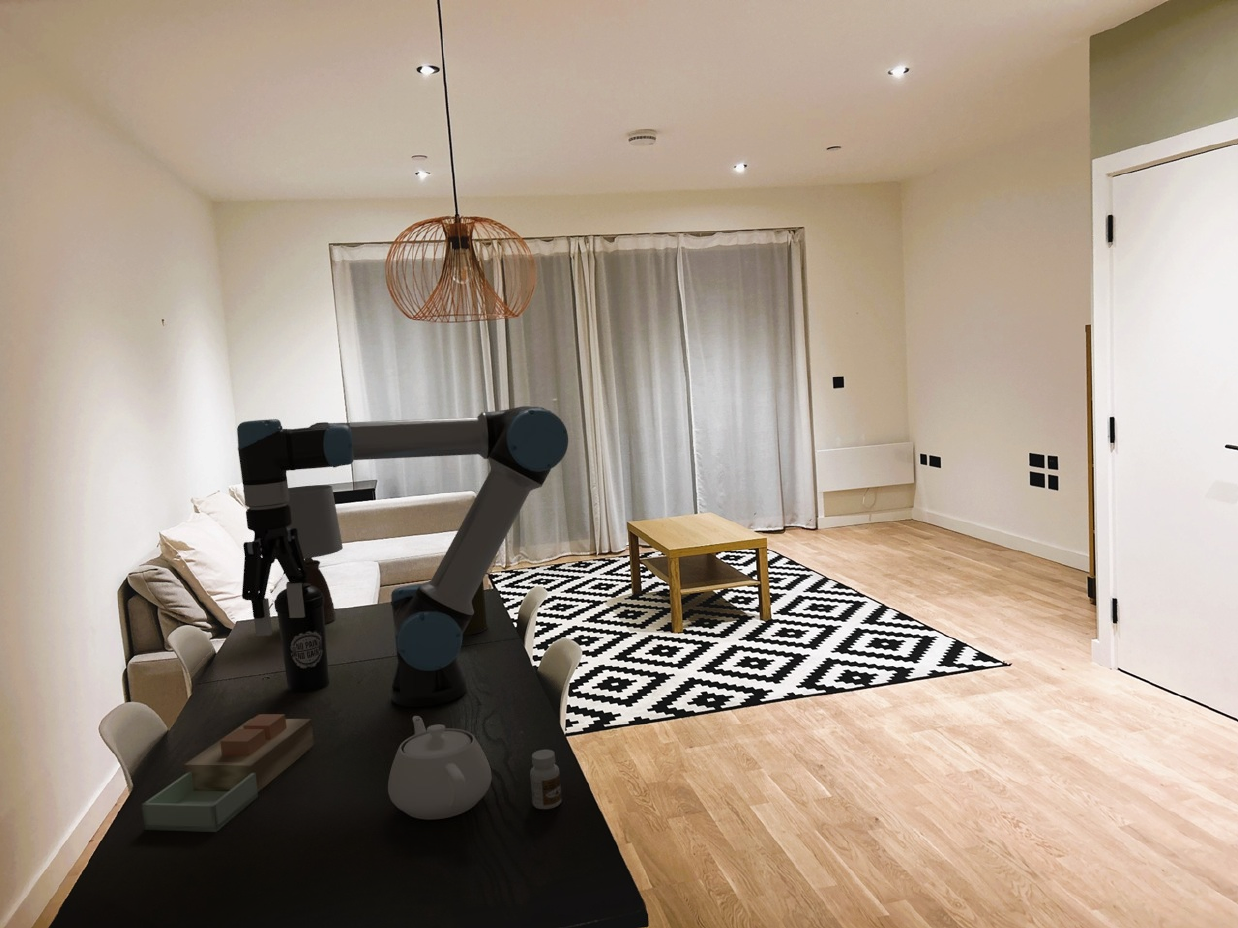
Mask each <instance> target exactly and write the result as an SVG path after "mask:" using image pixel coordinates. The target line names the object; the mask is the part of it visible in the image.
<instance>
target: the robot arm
mask: <svg viewBox="0 0 1238 928" xmlns="http://www.w3.org/2000/svg"><path fill="white" fill-rule="evenodd" d="M236 429H237V430H236V434H237V451H238V459H239V466H240V475H241V481H242V486H243V488H242V489H243V496H244V505H245V506H246V507H247V510H246V511H245V518H246V526H247V528H248V530H250V531H253V533H254V535H253V537H254V538H253V541H245V542H244V543H243V544H242V545H243V547H242V548H243V553H244V554H243V555H244V558H243V559H244V563H243V576H242V577H243V578H242V589H241V590H242V592H241V598H242V600H244V601H251V608H252V616H253V620H254V630H255V636H256V637H257V636H258V637H259V636H260V637H261V636H262V637H264V636H266V637H269V636H271V635H273V628H272V619H271V611H270V609H271V608H270V604H269V603H270V602H269V598H266V594H267V593H266V592H267V587H268V583H269V579H270V578H269V577H270V574H271V569H272V564H274V563H275V561H276V560H277V562H278V563H279V566H280V567H281V569H282V571H283V572H284V574H285V577H286V579H287V582H291V583H287V582H286V584H285V587H286V588H287V597H288V606H289V615H290V618H303V617H305V612H304V603H303V593H302V584H301V582H305V581H307V575H308V571H307V567H306V564H305V561H304V557H303V554H302V551H301V547H300V544H299V541H298V532H297V529H296V528H286V527H287V526H289V525H291V523H292V518H291V510H290V506H289V505H287V502H289V501H290V498H289V491H288V488H289V484H288V478H287V471H288V472H289V471H296V470H297V471H298V470H309V469H321V468H322V469H323V468H337V467H343V466H348V465H351V464H353V463H354V461H362V460H363V461H364V460H383V459H384V460H385V459H408V458H409V459H411V458H426V457H427V458H428V457H430V458H431V457H448V456H450V457H451V456H452V457H454V456H471V455H472V456H473V455H479V456H480V457H481V458H482V459H484V460H488V463H489V466H490V471H489V472H488V475H487V476H486V478H485V480H484V482H483V483H482V486H481V487H480V489H479V491H478V493H477V495H476V497H475V499H474V501H473V502H472V504H471V506H470V508H469V509H468V512H467V513H466V515H465V517H464V519H463V521H462V522H461V524H460V526H459V528H458V530H457V531H456V534H455V536H454V538H453V539H452V541H451V543H450V545H449V546H448V548H447V550H446V552H445V554H444V556H443V558H442V559H441V561H440V563H439V565H438V567H437V569H436V571H435V573H434V574H433V577H432V578H431V580H429V581H427V582H424V583H418V584H417V583H415V584H409V585H403V586H399V587H396V588H394V589H393V590H392V592H391V600H390V605H391V611H392V619H393V620H392V621H393V628H394V629H393V630H394V640H395V641H394V642H395V650H396V657H397V658H396V660H397V662H396V668H395V671H394V675H393V680H392V683H391V684H392V686H391V698H392V699H391V700H392V702H393V703H394V704H396V705H398V706H402V707H408V708H423V707H424V708H426V707H432V706H437V705H442V704H445V703H449V702H451V701H454V700H457V699H458V698H460V697H462V696H463V695H464V694H465V693H466V692H467V690H468V687H467V686H468V685H467V679H466V676H465V673H464V671H463V669H462V666H461V664H460V662H459V659H458V657H457V656H458V655H459V653H460V651H461V648H462V645H463V636H462V634H463V632H464V631H465V629H466V627H467V625H468V623H469V621H470V619H471V617H472V615H473V614H474V610H473V607H472V599H473V597H474V595H475V593H476V591H477V589H478V587H479V586H480V584H481V582H482V580H483V581H484V579H485V576H486V574H487V572H488V571H489V569H490V567H491V565H492V563H493V561H494V559H495V557H496V555H497V554H498V551H500V548H501V547H502V545H503V542H504V541H505V540H506V537H507V535H508V534H509V531H510V529H511V528H512V526H513V524H514V522H515V520H516V519H517V517H518V514H519V513H520V510H521V509H522V508H523V506H524V504H525V502H526V500H527V498H528V496H529V494H530V492H531V491H533V490H536V489H540V488H542V487H543V485H544V483H545V481H546V479H547V477H548V476H549V474H550V472H551V470H552V469H553V468H555V467H556V466H557V465H558V464H559V463H561V461H562V460H563V459H564V458H565V455H566V453H567V450H568V446H569V435H568V429H567V427H566V425H565V424H564V421H562V418H560V417H559V416H558V415H557V414H555V413H554V412H552V410H550V409H549V410H548V409H547V408H544V407H542V406H541V407H540V406H527V405H526V406H525V405H523V406H517V407H513V408H512V407H511V408H509V409H508V408H507V409H502V410H497V411H495V410H493V411H482V412H481V413H480V414H478V416H475V417H473V416H471V417H470V416H469V417H451V418H428V419H427V418H425V419H424V418H423V419H402V420H401V419H400V420H377V421H375V420H374V421H372V420H371V421H350V422H327V421H326V422H325V421H324V422H323V421H322V422H316V423H313V424H311V425H310V426H309V427H299V428H283V425H282V423H281V420H279V419H277V418H273V419H271V418H270V419H258V420H257V419H255V420H247V421H242V422H240V423H239V425H237V428H236ZM275 558H277V559H275ZM300 568H301V570H300ZM286 588H285V589H286Z"/></svg>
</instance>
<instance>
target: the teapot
mask: <svg viewBox="0 0 1238 928" xmlns="http://www.w3.org/2000/svg"><path fill="white" fill-rule="evenodd" d="M412 724H413V727H414V734H413V735H411V736H410V737H407V739H405V740H404V741H403V742H401V743H400V745H399V746H398V748H397V751H396V754H395V756H394V759H393V762H392V765H391V768H390V772H389V776H388V782H387V791H388V792H387V793H388V796H389V798H390V801H391V802H392V803H393V805H395V807H396V808H398V809H399V810H400V811H402V812H404V813H405V814H406V815H408V816H410V817H412V818H415V819H419V820H420V819H421V820H429V821H431V820H440V819H442V820H443V819H447V818H453V817H455V816H458V815H461V814H463V813H465V812H467V811H469V810H471V809H472V808H473V807H475V806H476V805H477V804H478V802H479V801H480V800H481V799H482V798H484V796H485V795H486V794H487V792H488V791H489V789H490V785H491V784H492V771H491V767H490V762H489V760H488V759H487V758H488V757H487V756H486V754H485V752H484V751H483V748H482V747H481V745H480V744H479V742H478V740H477V738H476V737H475V735H473V733H471V732H470V731H467V730H464V729H462V728H461V729H460V728H446V726H445V724H431V725H429V726H428V727H425V724H424V721H423V718H421V716H419V715H414V716H413V717H412Z"/></svg>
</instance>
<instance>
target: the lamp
mask: <svg viewBox="0 0 1238 928" xmlns="http://www.w3.org/2000/svg"><path fill="white" fill-rule="evenodd" d="M288 491H289V498H290V501H289V502H287V505H289V506H290V510H291V518H292V523H291V525H289V526H287V527H286V528H296V529H297V532H298V541H299V544H300V547H301V551H302V554H303V557H304V561H305V564H306V567H307V571H308V575H307V581H305V582H306V583H310V584H311V586H314V587H317V588H318V589H319V590H320V591H321V593H323V594H324V605H323V609H324V622H325V625H326V624H330V623H332V622H334V620H336V617H337V616H336V611H335V606H334V602H333V598H332V596H331V591H330V588H329V585H328V582H327V581H326V578H325V576H324V575H323V573H322V570H321V569H320V564H321V561H320V560H316V559H313V558H318V557H322V556H323V557H324V556H328V555H331V554H332V555H333V554H335V553H338V552H339V551H341V550H343V549H344V548H343V543H342V542H343V541H342V536H341V529H340V524H339V519H338V512H337V508H336V502H335V497H334V489H333V486H332V485H327V484H325V485H324V484H322V485H321V484H320V485H319V484H317V485H316V484H315V485H313V484H312V485H303V486H295V487H294V486H293V487H288ZM275 560H277V558H275ZM300 570H301V568H300Z"/></svg>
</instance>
